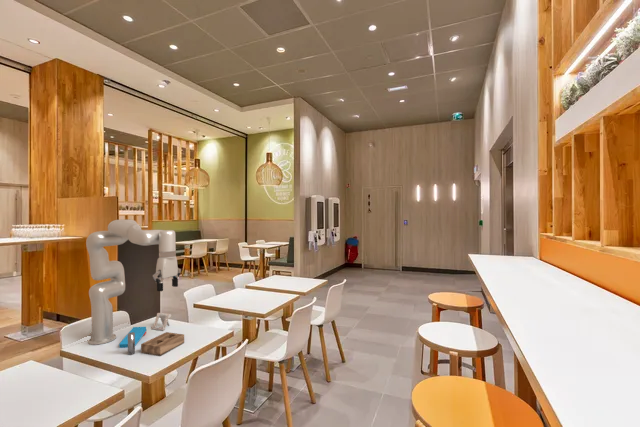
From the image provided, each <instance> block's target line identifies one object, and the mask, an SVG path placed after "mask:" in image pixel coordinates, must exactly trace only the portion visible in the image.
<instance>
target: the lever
mask: <svg viewBox="0 0 640 427" xmlns="http://www.w3.org/2000/svg"><path fill="white" fill-rule="evenodd" d="M132 332H134V333H135V346H136V345H137V344H138V343H139V341H140V340H141V339H142V337H144V336H145V335H146V334H147V326H133V327H132V328H131V329H130V331H129V332H128V333H132ZM128 333H127V334H126V336H124V338H123V339H122V340H121V341H120V343H119V344H118V347H119V348H120V349H125V348H127V349H128Z"/></svg>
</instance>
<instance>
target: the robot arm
mask: <svg viewBox="0 0 640 427" xmlns="http://www.w3.org/2000/svg"><path fill="white" fill-rule="evenodd" d="M176 239H177V238H176V231H175V230H172V229H166V230H165V229H147V230H145V229H142V227H141V226H140V225H139V224H138V222H137V220H134V219H115V220H112V221H111V222H109V224H107V230H99V231H98V230H97V231H94V232H92V233H90V234H89V235H88V236H87V237H86V240H85V241H86V242H85V244H86V245H85V246H86V250H87V253H88V255H89V267H90V269H89V270H90V276H91V278H92V280H94V281H102V282H98V283H96V284H94V285H92V286H91V287H89V290H88V296H89V300H90V306H91V308H90V309H91V311H90V312H91V331H90V332H89V333H88V335H87V336H89V337H90V338H89V339H88V340H87V344H89V345H93V346H96V345H103V344H107V343H110V342H112V341H114V340H116V339H117V335H116V334H115V333H114V322H113V321H114V319H113V318H114V317H113V316H114V314H113V313H114V312H113V311H114V310H113V308H114V307H113V304H112V302H111V301H110V299H112V298H115V297H119V296H121V295H123V294H124V293H125V291H126V278H125V268H124V265H123V264H122V262H121V261H118V260H110V258H109V257H110V256H109V252H108V251H107V249H106V248H104V247H111V246H113V247H114V246H119V245H123V244H124V243H126V242H127V241H129V242H130V243H132V244H135V245H139V246H144V247H145V246H153V245H158V258H157V260H156V268H155V273H154V274H152V278H153V281H154V282H155V284H156V291H157V292H164V283H163V281H164V280H165V279H167V278H168V279H169V278H171V286H172V287H175V288H176V287H179V278H180V276H181V272H182V268H179V267H178V259H177V255H176V254H177V250H176V249H177V247H176ZM108 279H110V280H108ZM103 280H106V281H103Z"/></svg>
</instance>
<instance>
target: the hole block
mask: <svg viewBox="0 0 640 427" xmlns="http://www.w3.org/2000/svg"><path fill="white" fill-rule="evenodd" d="M183 344H185V334H182V333H176V332H170V331H169V332H167V331H165V332H163V333H161V334H159V335H157V336H155V337H152V338H151V339H149V340H146V341H145V342H143V343H141V344H140V352H141V354H144V355H151V356H157V357H162V356H164V355H165V354H167V353H169V352H171V351H173V350H174V349H176V348H178V347H180V346H181V345H183Z"/></svg>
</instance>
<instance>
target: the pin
mask: <svg viewBox="0 0 640 427" xmlns="http://www.w3.org/2000/svg"><path fill="white" fill-rule="evenodd" d="M127 334H128V348H127V355H128V356H133V355H135V354H136V345H135V333H134V332H132V333H129V332H128V333H127Z"/></svg>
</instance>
